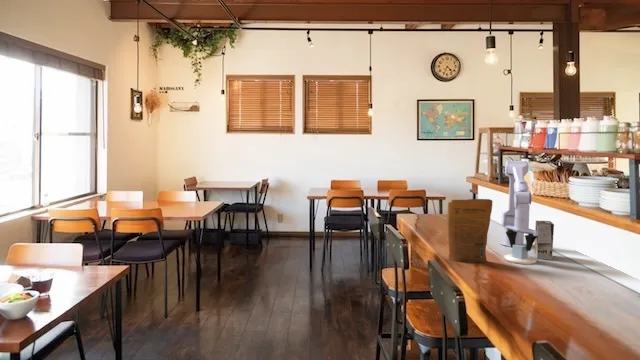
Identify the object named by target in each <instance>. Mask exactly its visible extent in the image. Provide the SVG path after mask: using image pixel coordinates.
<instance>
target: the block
mask: <svg viewBox="0 0 640 360" xmlns="http://www.w3.org/2000/svg"><path fill="white" fill-rule="evenodd" d="M511 248H512V249H511V251H512V252H511V254H512V257H514V258H518V259H526V258H528V255H529V251H526V244H525V245H522V244H515V245H513V247H511Z"/></svg>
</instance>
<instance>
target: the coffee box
mask: <svg viewBox="0 0 640 360" xmlns="http://www.w3.org/2000/svg"><path fill="white" fill-rule="evenodd" d="M534 227H535V229H534V230H535V231H538V236H537V238H536V239H535V241H534V251H533V252H534V256H535V258H536V259H538V260H539V259H540V260H548V261H549V260H550V261H552V260H553V250H554V249H553V247H554V246H553V245H554V231H555V229H554V228H555V224H554V222H552V221H550V220H535V226H534Z"/></svg>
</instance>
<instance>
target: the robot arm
mask: <svg viewBox="0 0 640 360" xmlns="http://www.w3.org/2000/svg"><path fill="white" fill-rule="evenodd" d="M528 172H529V161H528V160H508V159H507V160H506V161H505V163H504V175H505V176H506V177H508V179H509V188H508V189H509V190H508V206H507V207H508V208H506V209H504V210H503V211H502V215H501V226H502V227H503V228H504V231H503V242H500V245H502V246H506V247H510V248H512V247H513V245H515V244H522V245H526V251H528V252H530V251H531V250H532V247H533V245H534V244H535V239H536V238H537V236H538V231H535V229H531V228H530V227H529V225H530V206H531V204H532V200H533V199H532V198H533V197H532V196H533V195H532V192H531V190H529V186H528V182H527V181H526V180H525V176H526V175H527V173H528ZM525 234H526V235H525ZM524 239H525V240H524ZM524 241H525V243H524Z"/></svg>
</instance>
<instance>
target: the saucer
mask: <svg viewBox="0 0 640 360" xmlns="http://www.w3.org/2000/svg"><path fill="white" fill-rule="evenodd" d="M503 259H504V261H506V262H507V263H511V264H512V263H513V264H518V265H535V264H537V258H536V256H535V257H534V256H532V255H529V254H528V258H526V259H518V258H514V257H512V253H507V254H504V256H503Z"/></svg>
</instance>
